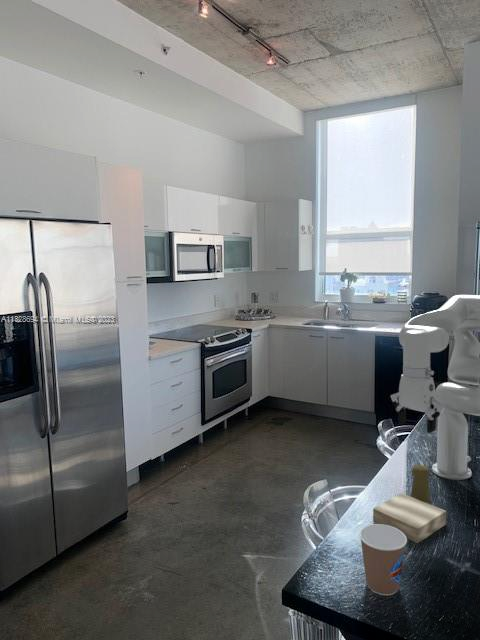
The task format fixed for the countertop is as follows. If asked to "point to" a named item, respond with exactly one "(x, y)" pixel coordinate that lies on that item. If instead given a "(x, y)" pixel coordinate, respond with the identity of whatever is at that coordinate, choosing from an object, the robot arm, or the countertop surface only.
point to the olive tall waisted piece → (421, 483)
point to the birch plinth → (410, 516)
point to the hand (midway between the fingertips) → (416, 427)
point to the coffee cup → (383, 557)
